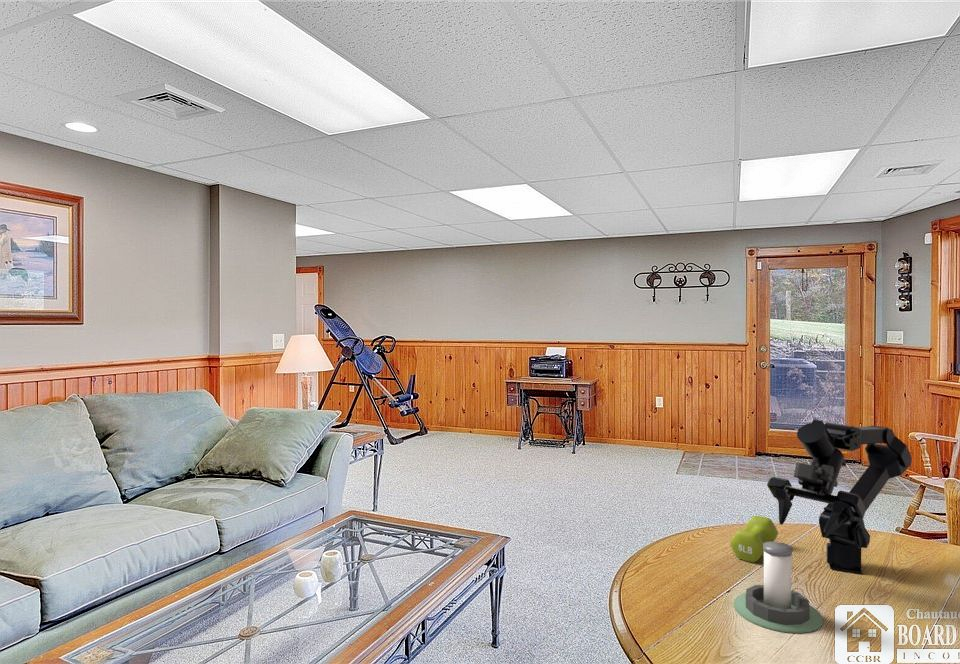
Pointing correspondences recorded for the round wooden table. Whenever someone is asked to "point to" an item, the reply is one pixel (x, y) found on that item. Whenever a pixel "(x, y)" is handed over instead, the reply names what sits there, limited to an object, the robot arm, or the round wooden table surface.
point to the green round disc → (778, 612)
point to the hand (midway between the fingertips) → (802, 529)
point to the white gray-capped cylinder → (777, 574)
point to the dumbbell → (753, 538)
